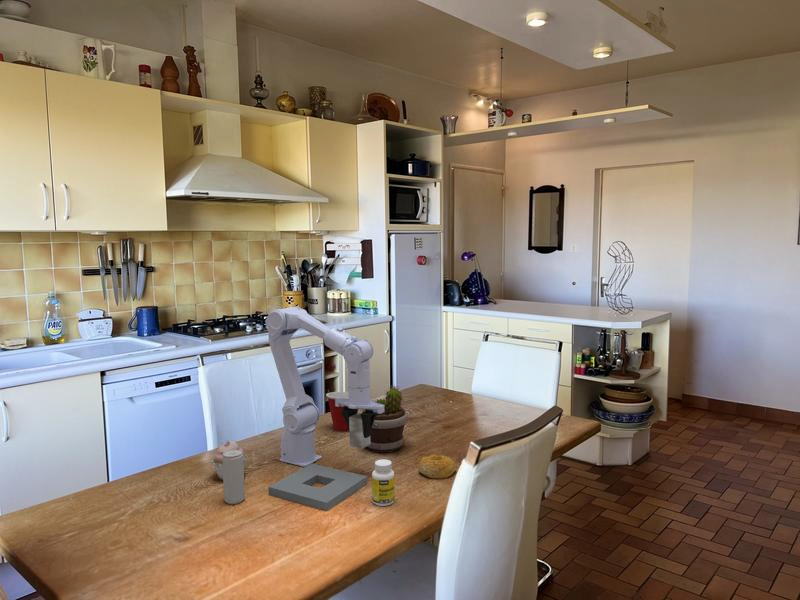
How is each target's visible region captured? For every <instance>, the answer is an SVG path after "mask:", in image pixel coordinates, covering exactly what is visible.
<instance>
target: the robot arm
mask: <svg viewBox="0 0 800 600" xmlns="http://www.w3.org/2000/svg"><path fill="white" fill-rule="evenodd" d="M264 321H265V325H266V329H267V330H268V343H269V346H270V350H271V353H272V357H273V359H274V363H275V366H276V367H275V368H276V370H277V373H278V376H279V380H280V384H281V385H282V390H283V392H284V395H285V399H286V401H284V404H283V406H282V409H281V411H282V416H283V417H282V422H283V425H284V428H285V429H284V430H283V431H282V433H281V437H280V450H281V451H280V454H281V455H280V458H279V461H280V462H282V463H283V462H284V463H286V464H287V463H288V464H290V465H291V464H292V465H295V466H300V467H302V468H304V467H306V466H308V465H310V464H312V463H313V464H314V462H317V461H319V460H320V459H323V456H322V455H319V454H316V430H315V429H316V428H317V423H318V422H319V420H320V417H321V413H320V410H319V408H318V407H317V406H316V403H315V402H314V400H313V397H311V396H310V395H308V394H306V392H305V389H304V388H305V387H304V386H303V382H302V379H301V375H300V372H299V369H298V366H297V363H296V360H295V355H294V353H293V349H292V347H291V346H292V345H291V342H290V341H291V339H292V338H293V336H294V334H296V332H298V330H299V329H302V330H304V331H306V332H308V333H310V334H312V335H314V336H316V337H318V338H320V339H322V340H323V342H324V345H325V347H327V348H330V349H331V350H332V351H335V352H336V353H338V354H340V355H341V356H342V357H343V359H344V361H345V363H346V368H347V378H348V379H347V383H348V385H347V386H348V391H347V392H348V393H349V399H347V398H338V399H335V406H336V407H339V406H342V407H344V408H343V410H341V414H342V415H343V417H344V419H345V421H346V423H347V426H348V430H349V431H348V433H349V434H350V429H349V417H350V416H353V415H355V414H357V413H359V410H360V411H362V412H363V410H365V412H363V413H361V412H360V415H361V418H362V422H363V434H364V438H368V437H369V436H370V434H371V430H372V426H373V423H374V420H375V418H376V416H377V414H381V413H383V412H384V405H382V404H378V403H375V402H376V401H374V400H373V401H372V400H371V382H370V381H371V378H370V377H371V376H370V374H371V373H370V372H371V371H370V367H371V366H370V359H372V358H373V355H374V347H373V345H372V344H371V343H370V341H368V340H367V339H366V338H363V339H358V337H357V336H355V335H351V334H349V333H347V332H346V331H344V328H342V327H341V326H339V327H336V326H334V327H332V328H330V327H328V326H327V325H326V324H324V323H322V322H321V321H319V320H318V319H317V318H315V317H314V316H311V315H310V314H309V313H308V312H307V310H306V309H303V308H301V307H300V306H297V305H294V306H291V307H284V308H278V309H277V308H275V309H271V311H269V313H268V315H267V317H266V319H265V320H264Z"/></svg>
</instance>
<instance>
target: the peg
mask: <svg viewBox="0 0 800 600" xmlns="http://www.w3.org/2000/svg"><path fill="white" fill-rule="evenodd" d="M360 414H361V412H360V413H359V412H358V413H357V414H355V415H353V416H350V417H349V429H350V433H349V447H353V448H357V449H364V448H366V447H368V445H370V444H371V443H370V436H369V437H368V438H364V434H363V422H362V418H361V415H360Z"/></svg>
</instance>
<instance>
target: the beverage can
mask: <svg viewBox="0 0 800 600" xmlns="http://www.w3.org/2000/svg"><path fill="white" fill-rule="evenodd" d="M222 462H223V480H222V481H223V500H224V501H225V503H226V504H229V505H237V504H240V503H241V502H243V501H244V500H245V498H246V494H245V493H246V492H245V489H246V488H245V466H244V464H243V453H242V451H241V450H237V449H234V450H228V451H225V452H224V453H223V456H222Z"/></svg>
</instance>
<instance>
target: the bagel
mask: <svg viewBox="0 0 800 600" xmlns="http://www.w3.org/2000/svg"><path fill="white" fill-rule="evenodd" d="M456 466H457V465H456V463H455V462H454V461H453V459H452V458H451V457H449V456H445V455H440V454H431V455H428V456H423V457H422V458H421V460H420V461H419V463H418V471H419V472H420V473H421V474H422V475H424V476H425V477H428V478H430V479H446V478H449V477H451V476H452V475H454V473H455V472H456V470H457V467H456Z"/></svg>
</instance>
